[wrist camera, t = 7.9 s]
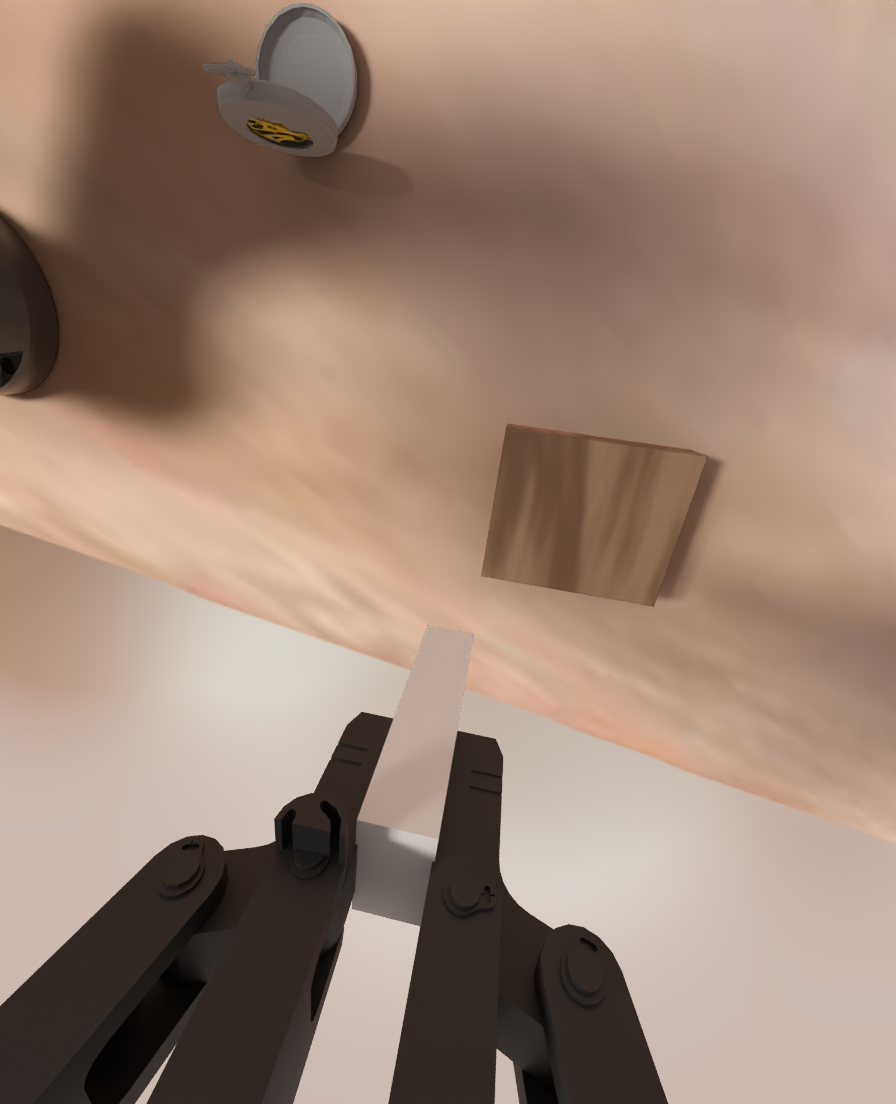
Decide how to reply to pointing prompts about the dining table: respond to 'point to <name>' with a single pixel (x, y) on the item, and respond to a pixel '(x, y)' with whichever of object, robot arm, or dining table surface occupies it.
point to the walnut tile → (588, 513)
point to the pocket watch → (292, 85)
